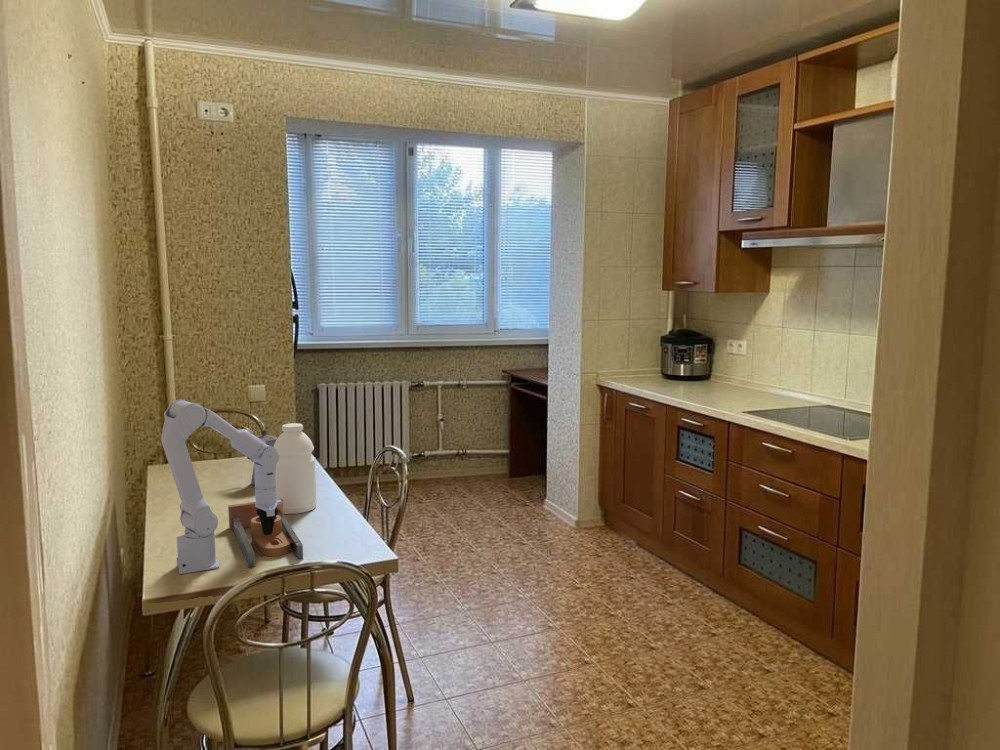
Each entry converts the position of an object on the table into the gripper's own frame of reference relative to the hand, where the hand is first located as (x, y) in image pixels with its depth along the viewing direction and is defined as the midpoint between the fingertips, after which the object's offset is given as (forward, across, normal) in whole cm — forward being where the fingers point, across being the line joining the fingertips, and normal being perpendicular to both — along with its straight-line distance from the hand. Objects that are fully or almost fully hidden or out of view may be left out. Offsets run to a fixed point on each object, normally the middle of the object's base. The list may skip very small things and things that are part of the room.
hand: (267, 534), depth 206 cm
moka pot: (+4, +70, -9) cm, 71 cm away
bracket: (+4, +1, -1) cm, 5 cm away
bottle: (+4, +34, -14) cm, 37 cm away
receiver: (+4, +4, 0) cm, 6 cm away
